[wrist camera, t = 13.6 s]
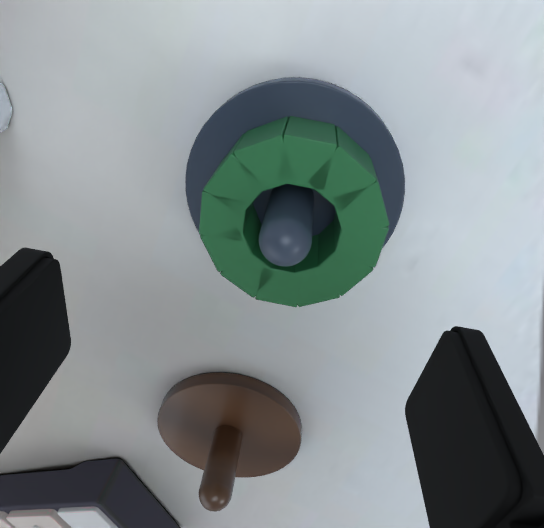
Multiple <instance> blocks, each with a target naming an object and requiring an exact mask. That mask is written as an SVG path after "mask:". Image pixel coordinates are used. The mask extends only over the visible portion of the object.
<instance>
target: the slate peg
mask: <svg viewBox="0 0 544 528" xmlns="http://www.w3.org/2000/svg"><path fill="white" fill-rule="evenodd" d="M290 116H294V117H299V118H305V119H310V120H315V121H320V122H325V123H330V124H334V125H335V127H336V126H338V127H339V128H340V129H342V130H343V131H344V132H345V133H346V134H347V135H348V136H349V137H350V138H351V139H352V140H354V141H355V142H356V143H357V144H358V145H359V146H360V147H361V148H362V149H363V150H364V151H366V152H367V153H368V154H369V157H370V158H371V160H372V163H373V166H374V169H375V173H376V176H377V179H378V182H379V186H380V190H381V194H382V197H383V201H384V205H385V209H386V213H387V217H388V221H389V226H388V227H389V230H388V233H387V236H386V238H385V241H384V244H383V247H384V245H385V244H386V243H387V241H388V240H389V238H390V236H391V235H392V233H393V232H394V229H395V227H396V225H397V223H398V220H399V217H400V214H401V211H402V207H403V201H404V194H405V177H404V170H403V164H402V160H401V157H400V154H399V150H398V148H397V146H396V144H395V142H394V140H393V137H392V135H391V134H390V132H389V130H388V129H387V127H386V126H385V124H384V123H383V121H382V120H381V118H380V117H379V116H378V115H377V114H376V113H375V112H374V110H373V109H372V108H371V107H370V106H368V105H367V104H366V103H365V102H364V101H362V100H361V99H360V98H359V97H357V96H355V95H354V94H352V93H351V92H349V91H347V90H345V89H343V88H341V87H339V86H336V85H334V84H332V83H328V82H324V81H321V80H317V79H309V78H301V77H298V78H280V79H274V80H269V81H266V82H262V83H259V84H256V85H253V86H251V87H249V88H247V89H245V90H243V91H241V92H239V93H238V94H237V95H235V96H234V97H232V98H231V99H229V100H228V101H227V102H226V103H225V104H223V105H222V106H221V107H220V108H219V109H218V110H217V111H216V112H215V113H214V114H213V115H212V116H211V117H210V118H209V120H208V121H207V122H206V123H205V124H204V126H203V128H202V129H201V131H200V132H199V134H198V136H197V137H196V140H195V142H194V144H193V147H192V149H191V152H190V155H189V159H188V163H187V170H186V196H187V202H188V206H189V210H190V213H191V217H192V219H193V221H194V224H195V226H196V228H197V230H198V232H199V225H200V212H201V199H202V191H203V190H204V187H205V185H206V184H207V182H208V181H209V179H210V178H211V176H212V175H213V173H214V172H215V170H216V169H217V167H218V166H219V164H220V163H221V162H222V160H223V159H224V158H225V157H226V155H227V154H228V153H229V151H230V150H231V149H232V148H233V146H234V145H235V144H236V142H237V141H238V140H239V139H240V137H241V136H242V135H243V134H244V133H246V132H247V131H248V130H251V129H254V128H256V127H259V126H262V125H265V124H267V123H270V122H273V121H275V120H278V119H281V118H284V117H288V118H289V117H290ZM253 205H254V208H255V210H256V212H257V215H258V217H259V220H260V222H261V224H262V227H261V230H260V234H259V246H260V249H261V252H262V254H263V255H264V256H265V258H266V259H267V260H268V261H270V262H271V263H273V264H275V265H278V266H285V267H287V266H293V265H295V264H298V263H299V262H301V261H302V260H303V259H304V258H305V257H306V256H307V255H308V253H309V251H310V248H311V244H312V236H314V235H318V234H320V233H321V232H322V231H323V230H324V229H325V228H326V227H327V226H328V225H329V224H330V223H331V222H332V221H333V220H334V217H335V213H336V211H335V208H334V205H332V204H331V203H330V202H329V201H328V200H326V199H325V198H324V197H323V196H322V195H321V194H319V193H318V192H317V191H316V190H315V189H312V188H307V187H301V186H296V185H291V184H284V185H281V186H278V187H275V188H272V189H269V190H266V191H263V192H262V193H261V194H260V195H259V196H258V197H257V198H256V199H255V201H254V203H253ZM200 235H201V234H200ZM383 247H382V248H383Z"/></svg>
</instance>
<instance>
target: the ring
mask: <svg viewBox="0 0 544 528" xmlns="http://www.w3.org/2000/svg"><path fill="white" fill-rule="evenodd" d="M284 184H291V185H296V186H301V187H307V188H312V189H315V190H316V191H317V192H318V193H319V194H321V195H322V196H323V197H324V198H325V199H326V200H328V201H329V202H330V203H331V204H332V205H334V208H335V211H336V213H335V217H334V220H333V221H332V222H331V223H330V224H329V225H328V226H327V227H326V228H325V229H324V230H323V231H322V232H321V233H320V234H318V235H314V236H312V244H311V248H310V251H309V253H308V255H307V256H306V257H305V258H304V259H303V260H302V261H301V262H299V263H298V264H295V265H293V266H287V267H285V266H278V265H275V264H273V263H271V262H270V261H268V260H267V259H266V258H265V256H264V255H263V254H262V252H261V249H260V246H259V234H260V230H261V227H262V224H261V222H260V220H259V217H258V215H257V212H256V210H255V208H254V205H253V203H254V201H255V199H256V198H257V197H258V196H259V195H260V194H261V193H262V192H263V191H266V190H269V189H272V188H275V187H278V186H281V185H284ZM388 226H389V221H388V217H387V213H386V209H385V205H384V201H383V197H382V194H381V190H380V186H379V182H378V179H377V176H376V173H375V169H374V166H373V163H372V160H371V158H370V157H369V154H368V153H367V152H366V151H364V150H363V149H362V148H361V147H360V146H359V145H358V144H357V143H356V142H355V141H354V140H352V139H351V138H350V137H349V136H348V135H347V134H346V133H345V132H344V131H343V130H342V129H340V128H339V127H338V126H336V127H335V125H334V124H330V123H325V122H320V121H315V120H310V119H305V118H299V117H294V116H290V117H289V118H288V117H284V118H281V119H278V120H275V121H273V122H270V123H267V124H265V125H262V126H259V127H256V128H254V129H251V130H248V131H247V132H246V133H244V134H243V135H242V136H241V137H240V139H239V140H238V141H237V142H236V144H235V145H234V146H233V148H232V149H231V150H230V151H229V153H228V154H227V155H226V157H225V158H224V159H223V160H222V162H221V163H220V164H219V166H218V167H217V169H216V170H215V172H214V173H213V175H212V176H211V178H210V179H209V181H208V182H207V184H206V185H205V187H204V190H203V191H202V199H201V212H200V225H199V234H201V235H200V237H201V239H202V241H203V243H204V245H205V247H206V249H207V251H208V253H209V255H210V257H211V259H212V261H213V263H214V265H215V267H216V269H217V271H218V272H221V273H220V274H221V275H222V276H223V277H225V278H226V279H228V280H229V281H230V282H232V283H233V284H235V285H236V286H237V287H239V288H240V289H242V290H243V291H244V292H246V293H247V294H249V295H250V296H251V297H255V296H256V297H255V298H256V299H257V300H262V301H267V302H272V303H277V304H283V305H288V306H293V307H297V305H298V306H299V307H301V306H306V305H310V304H314V303H318V302H323V301H327V300H331V299H335V298H339V297H340V295H341V296H343V295H344V294H345V293H346V292H347V291H349V290H350V289H351V288H352V287H353V286H355V285H356V284H357V283H358V282H359V281H361V280H362V279H363V278H364V277H365V276H367V275H368V274H369V273H370V272H371V271H373V267H375V266H376V264H377V261H378V258H379V255H380V253H381V250H382V247H383V244H384V241H385V238H386V236H387V233H388V230H389V227H388Z"/></svg>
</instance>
